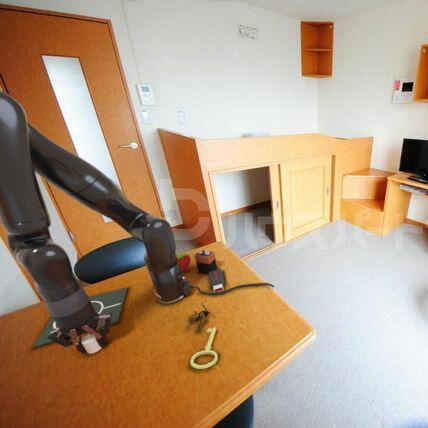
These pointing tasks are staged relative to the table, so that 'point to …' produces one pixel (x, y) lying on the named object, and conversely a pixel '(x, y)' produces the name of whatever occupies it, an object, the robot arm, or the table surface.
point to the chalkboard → (102, 305)
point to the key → (206, 352)
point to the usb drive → (216, 280)
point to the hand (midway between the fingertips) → (94, 347)
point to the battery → (205, 261)
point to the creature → (199, 317)
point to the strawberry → (183, 261)
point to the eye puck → (90, 344)
